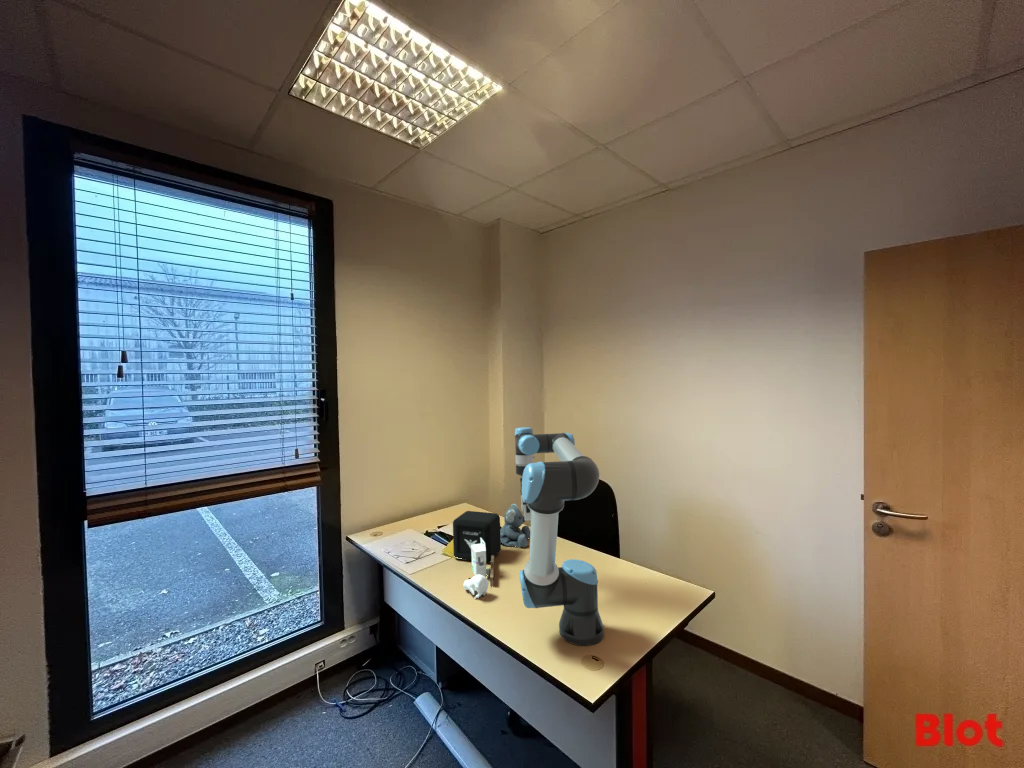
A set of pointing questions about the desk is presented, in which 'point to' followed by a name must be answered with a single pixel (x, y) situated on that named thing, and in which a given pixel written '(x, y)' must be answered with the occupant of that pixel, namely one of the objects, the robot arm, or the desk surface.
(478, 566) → the ink box
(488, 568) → the pad
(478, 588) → the white lumpy piece
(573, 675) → the desk surface
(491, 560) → the rail
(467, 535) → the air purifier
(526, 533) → the koala plush
